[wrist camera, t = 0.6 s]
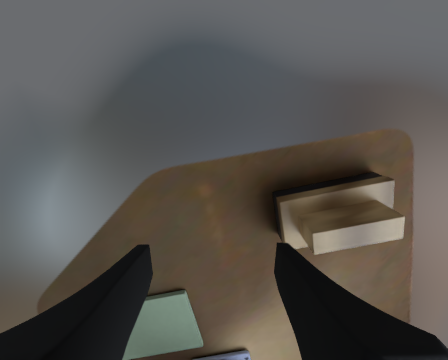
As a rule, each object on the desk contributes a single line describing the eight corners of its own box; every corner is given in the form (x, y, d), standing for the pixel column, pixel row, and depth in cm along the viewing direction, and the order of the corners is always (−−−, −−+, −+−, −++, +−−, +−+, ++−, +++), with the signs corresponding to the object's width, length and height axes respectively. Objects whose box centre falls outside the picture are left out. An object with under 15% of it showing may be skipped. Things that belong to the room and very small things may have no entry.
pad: (203, 342, 28) (203, 346, 27) (107, 358, 28) (105, 363, 28) (185, 289, 25) (184, 293, 24) (79, 308, 25) (76, 313, 25)
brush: (373, 170, 21) (427, 192, 15) (372, 217, 22) (421, 251, 17) (272, 190, 21) (290, 219, 16) (278, 235, 23) (297, 274, 17)
